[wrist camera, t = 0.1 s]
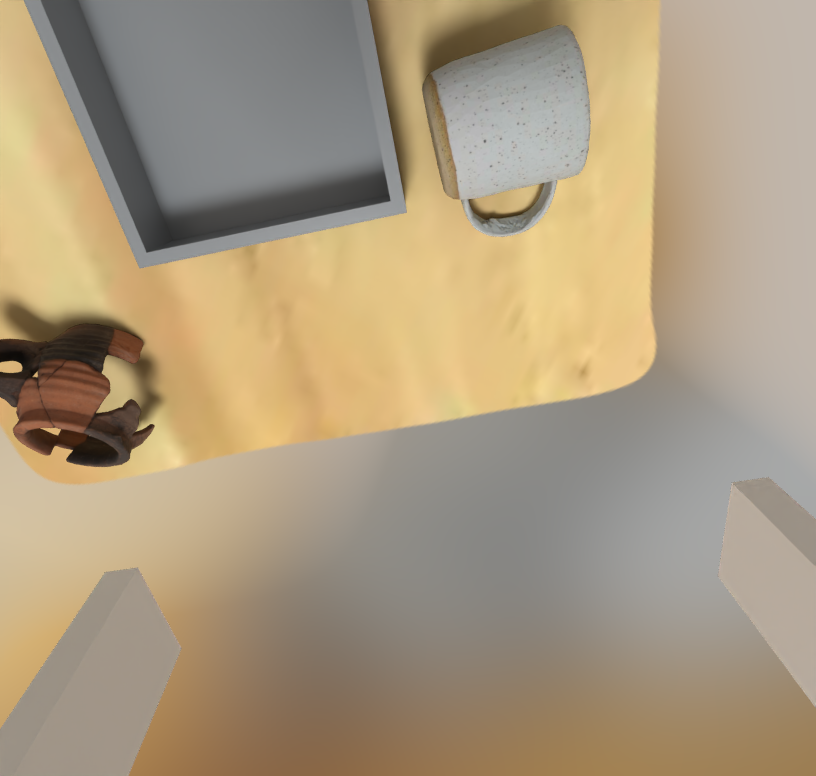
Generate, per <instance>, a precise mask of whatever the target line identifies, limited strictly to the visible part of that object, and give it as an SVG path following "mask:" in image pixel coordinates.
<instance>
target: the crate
mask: <svg viewBox="0 0 816 776" xmlns="http://www.w3.org/2000/svg"><path fill="white" fill-rule="evenodd" d="M24 2H25V5H26V7H27V9H28V11H29V14H30V16H31V18H32V21H33V23H34V25H35V28H36V30H37V32H38V35H39V37H40V39H41V42H42V44H43V46H44V48H45V51H46V53H47V55H48V58H49V60H50V62H51V65H52V67H53V69H54V72H55V74H56V76H57V79H58V81H59V83H60V85H61V88H62V90H63V92H64V95H65V97H66V99H67V102H68V104H69V106H70V109H71V111H72V113H73V116H74V118H75V120H76V122H77V125H78V127H79V129H80V132H81V134H82V136H83V139H84V141H85V143H86V146H87V148H88V150H89V153H90V155H91V157H92V160H93V162H94V164H95V166H96V169H97V171H98V173H99V176H100V178H101V180H102V183H103V185H104V187H105V190H106V192H107V194H108V197H109V199H110V201H111V203H112V206H113V208H114V210H115V213H116V215H117V217H118V220H119V222H120V224H121V227H122V229H123V231H124V234H125V236H126V238H127V240H128V243H129V245H130V247H131V250H132V252H133V254H134V257H135V259H136V261H137V264H138V266H139V268H144V267H149V266H154V265H158V264H163V263H168V262H173V261H178V260H182V259H187V258H192V257H197V256H201V255H206V254H211V253H216V252H221V251H225V250H230V249H235V248H240V247H245V246H249V245H254V244H259V243H264V242H268V241H273V240H278V239H283V238H288V237H292V236H297V235H302V234H307V233H311V232H316V231H321V230H326V229H331V228H335V227H340V226H345V225H350V224H354V223H359V222H364V221H369V220H374V219H378V218H383V217H388V216H393V215H397V214H402V213H407V211H406V205H405V200H404V195H403V189H402V184H401V179H400V173H399V168H398V163H397V157H396V152H395V147H394V141H393V136H392V131H391V125H390V120H389V115H388V109H387V104H386V99H385V93H384V88H383V83H382V77H381V72H380V67H379V61H378V56H377V51H376V45H375V40H374V35H373V29H372V24H371V19H370V13H369V8H368V3H367V0H24Z"/></svg>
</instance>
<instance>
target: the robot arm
mask: <svg viewBox="0 0 816 776" xmlns="http://www.w3.org/2000/svg"><path fill="white" fill-rule="evenodd" d="M718 577H719V578H720V580H721V581H722V582H723V584H724V585H725V586H726V588H727V589H728V590H729V592H730V593H731V594H732V596H733V597H734V598H735V600H736V601H737V603H738V604H739V605H740V607H741V608H742V609H743V611H744V612H745V613H746V615H747V616H748V617H749V619H750V620H751V621H752V623H753V624H754V625H755V627H756V628H757V629H758V631H759V632H760V633H761V635H762V636H763V637H764V639H765V640H766V641H767V643H768V644H769V645H770V647H771V648H772V650H773V651H774V652H775V653H776V655H777V656H778V658H779V659H780V660H781V662H782V663H783V664H784V665H785V667H786V668H787V670H788V671H789V672H790V674H791V675H792V676H793V678H794V679H795V680H796V682H797V683H798V684H799V686H800V687H801V688H802V690H803V691H804V692H805V694H806V695H807V697H808V698H809V699H810V700H811V702H812V703H813V704H814V706H815V707H816V519H815V518H814V517H813V516H812V515H810V514H809V513H808V512H807V511H806V510H805V509H804V508H803V507H801V506H800V505H799V504H798V503H797V502H796V501H795V500H793V499H792V498H791V497H790V496H789V495H788V494H787V493H786V492H785V491H784V490H782V489H781V488H780V487H779V486H778V485H777V484H776V483H774V482H773V481H772V480H771V479H770V478H769V477H767V478H760V479H753V480H746V481H739V482H732V486H731V493H730V499H729V506H728V512H727V519H726V525H725V532H724V539H723V545H722V552H721V558H720V565H719V572H718ZM180 651H181V647H180V645H179V643H178V641H177V639H176V637H175V636H174V634H173V632H172V630H171V628H170V626H169V624H168V623H167V621H166V619H165V617H164V615H163V613H162V612H161V610H160V608H159V606H158V604H157V602H156V601H155V599H154V597H153V595H152V593H151V591H150V589H149V587H148V586H147V584H146V582H145V580H144V578H143V576H142V574H141V573H140V571H139V569H138V568H132V569H124V570H117V571H111V572H105V573H104V575H103V576H102V578H101V579H100V581H99V582H98V584H97V585H96V587H95V588H94V590H93V591H92V593H91V594H90V596H89V597H88V599H87V600H86V602H85V603H84V605H83V606H82V608H81V609H80V611H79V612H78V614H77V615H76V617H75V618H74V620H73V621H72V623H71V624H70V626H69V627H68V629H67V630H66V632H65V633H64V635H63V636H62V638H61V639H60V640H59V642H58V643H57V645H56V647H55V648H54V649H53V651H52V653H51V654H50V656H49V657H48V658H47V660H46V661H45V663H44V665H43V666H42V667H41V669H40V670H39V672H38V674H37V675H36V676H35V678H34V679H33V681H32V683H31V684H30V686H29V687H28V688H27V690H26V692H25V693H24V694H23V696H22V697H21V699H20V700H19V702H18V703H17V705H16V706H15V708H14V709H13V711H12V712H11V714H10V715H9V717H8V718H7V720H6V721H5V723H4V724H3V726H2V727H1V729H0V776H128V775H129V773H130V770H131V768H132V765H133V763H134V761H135V758H136V756H137V754H138V751H139V749H140V746H141V744H142V742H143V739H144V737H145V734H146V732H147V730H148V727H149V725H150V722H151V720H152V718H153V715H154V713H155V711H156V708H157V706H158V703H159V701H160V698H161V696H162V694H163V691H164V689H165V687H166V684H167V682H168V679H169V677H170V675H171V672H172V670H173V667H174V665H175V663H176V660H177V658H178V656H179V653H180Z"/></svg>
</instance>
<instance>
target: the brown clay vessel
mask: <svg viewBox="0 0 816 776" xmlns="http://www.w3.org/2000/svg"><path fill="white" fill-rule="evenodd" d="M142 347H143V342H142V341H141V340H140V339H138V338H137V337H135V336H133V335H131V334H128V333H126V332H123V331H120V330H117V329H114V328H111V327H107V326H102V325H99V324H80V325H77V326H74V327H71V328H69V329H68V330H66V331H65V332H64V333H63V334H61V335H59V336H58V337H56V338H55V339H53V340H52V341H50V342H46V341H45V342H31V341H27V340H19V339H1V340H0V363H1V362H5V361H17V362H19V363H21V365H22V367H23V368H22V371H21V372H18V373H3V372H0V397H1V398H3V399H5V400H6V401H7V402H8V403H9V404H10V405H11V406H12V407H17V411H16V413H17V416H18V418H19V421H18V423H17V424H16V425H15V427H14V428H13V433H14V435H15V437H16V438H17V439H18V440H19V441H20V442H21V443H22V444H24V445H26V446H27V447H29V448H30V449H32V450H34V451H36V452H38V453H41V454H43V455H50V454H51V452H52V450H53V448H54V446H58V447H61V448H65V449H70V450H73V451H72V453H71V454H70V455H69V456H68V458H67V459H66V460H67V462H70V463H73V464H78V465H84V466H92V467H109V466H114V465H115V466H116V465H122V464H123V463H125V462H127V461H128V460H129V459H130V453H131V450H132V449H134V448H136V447H137V446H139V445H141V444H142V443H143V442H144V441H145V439H146V438H147V437H148V436H149V435H150V434H151V432H152V430H153V429H154V425H153V424H150V425H149V426H147V427H146V428H144V429H143V430H140V431H137V432H135V431H136V430H137V427H138V425H139V415H140V413H141V409H140V407H139V406H138V404H137V403H136V402H135V401H134V400H132V399H130V400H128V401H127V402H126V403H125V404H124V406H123V407H121V408H117V409H115V410H112V411H109V412H103V413H96V411H97V410H98V409H99V407H100V405H101V403H102V402H103V401H104V399H105V398H106V396H107V395H108V394H109V393H110V382H109V380H108V378H106V377H105V375H103V374H102V373H101V372H102V370H103V364H104V360H105V357H106V356H107V355H112V356H116V357H118V358H121V359H123V360H126V361H128V362H130V363H136V362H137V361H138V360H139V357H140V352H141V350H142ZM37 371H38V377H32V376H33V375H34V374H35V373H36V372H37ZM55 427H56V428H58V429H61V431H60V433H59V435H58V436H57V435H54V434H52V433H49V432H47V431H45V430H43V429H40V428H55Z"/></svg>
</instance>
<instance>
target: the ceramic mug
mask: <svg viewBox="0 0 816 776" xmlns="http://www.w3.org/2000/svg"><path fill="white" fill-rule="evenodd" d="M422 92H423V98H424V103H425V108H426V113H427V118H428V123H429V128H430V133H431V137H432V142H433V146H434V151H435V155H436V160H437V164H438V168H439V173H440V177H441V181H442V185H443V189H444V191H445V193H446V194H447V195H448V196H449V197H451V198H453V199H461V202H462V205H463V208H464V211H465V214H466V216H467V218H468V220H469V221H470V223H471V224H472V226H473V227H474V228H475V229H477V230H478V231H480V232H482V233H484V234H486V235H489V236H496V237H497V236H498V237H504V236H511V235H515V234H519V233H522V232H524V231H526V230H528V229H530V228H531V227H533V226H534V225H535V224H536V223H537V222H538V221H539V220H540V219H541V218H542V217H543V216H544V214H545V213H546V211H547V209H548V208H549V206H550V204H551V202H552V199H553V196H554V193H555V189H556V184H557V180H561V179H566V178H569V177H572V176H575V175H578V174H579V173H580V172H581V171H582V169H583V167H584V165H585V162H586V159H587V154H588V149H589V138H590V101H589V92H588V86H587V79H586V71H585V66H584V61H583V56H582V53H581V50H580V47H579V44H578V43H577V41H576V39H575V36H574V34H573V33H572V31H571V30H570V29H569V28H568V27H567V26H564V25H558V26H555V27H552V28H549V29H546V30H543V31H540V32H538V33H535V34H532V35H529V36H525V37H522V38H519V39H516V40H514V41H511V42H508V43H504V44H502V45H499V46H496V47H494V48H491V49H488V50H486V51H483V52H479V53H476V54H473V55H470V56H466V57H463V58H460V59H457V60H455V61H452V62H449V63H448V64H446V65H444V66H442V67H440V68H438V69H436V70H434V71H433V72H431V73H430V74H429V75H428V76H427V78H426V79H425V81H424V83H423V87H422ZM541 183H544V186H543V189H542V192H541V194H540V197H539V199H538V200H537V201H536V203H535V204H534V205H533V206H532V207H531V209H529V210H528V211H527V212H524V213H523V214H521V215H518V216H513V217H507V218H500V219H496V218H490V219H488V220H485V219H482V218H480V217H479V216H478V215H477V214H475V213H474V212H473V210H472V209H471V206H470V205H469V201H468V199H475V198H480V197H485V196H489V195H493V194H497V193H500V192H504V191H508V190H513V189H517V188H523V187H528V186H533V185H537V184H541Z"/></svg>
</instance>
